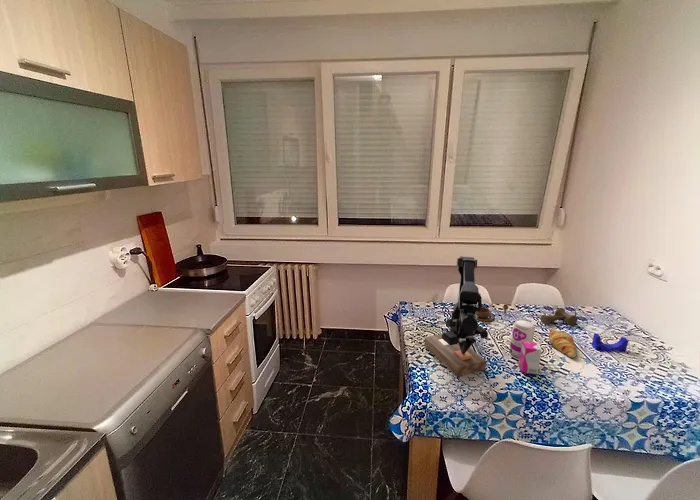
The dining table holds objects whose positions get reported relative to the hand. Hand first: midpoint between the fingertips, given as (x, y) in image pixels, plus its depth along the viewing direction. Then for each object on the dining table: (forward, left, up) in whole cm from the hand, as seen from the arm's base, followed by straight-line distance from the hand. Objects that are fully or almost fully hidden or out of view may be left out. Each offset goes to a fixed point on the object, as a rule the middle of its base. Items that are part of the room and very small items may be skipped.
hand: (463, 353), depth 137 cm
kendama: (-73, -15, -6) cm, 75 cm away
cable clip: (-71, +12, -6) cm, 72 cm away
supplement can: (-29, +2, -5) cm, 30 cm away
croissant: (-52, +3, -6) cm, 53 cm away
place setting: (-42, -30, -6) cm, 52 cm away
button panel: (0, -6, -5) cm, 8 cm away
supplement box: (-23, +12, -5) cm, 27 cm away
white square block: (0, -12, -5) cm, 13 cm away
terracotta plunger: (0, 0, -3) cm, 3 cm away
